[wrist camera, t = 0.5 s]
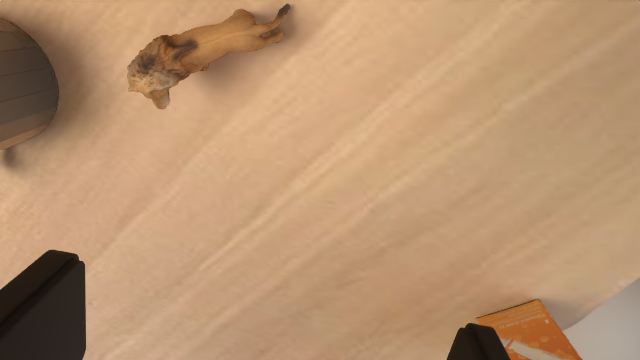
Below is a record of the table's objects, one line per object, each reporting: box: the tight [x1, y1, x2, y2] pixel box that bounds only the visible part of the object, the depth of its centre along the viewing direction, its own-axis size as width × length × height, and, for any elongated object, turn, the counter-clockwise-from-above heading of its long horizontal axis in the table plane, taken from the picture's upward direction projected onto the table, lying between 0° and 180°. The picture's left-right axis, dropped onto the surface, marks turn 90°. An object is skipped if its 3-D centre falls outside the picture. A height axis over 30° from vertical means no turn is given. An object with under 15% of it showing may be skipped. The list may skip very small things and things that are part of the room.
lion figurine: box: [127, 4, 290, 109], centre depth 37 cm, size 15×5×9 cm, turn 118°
